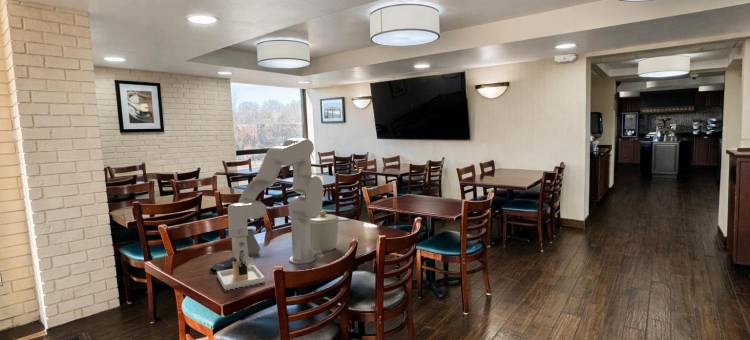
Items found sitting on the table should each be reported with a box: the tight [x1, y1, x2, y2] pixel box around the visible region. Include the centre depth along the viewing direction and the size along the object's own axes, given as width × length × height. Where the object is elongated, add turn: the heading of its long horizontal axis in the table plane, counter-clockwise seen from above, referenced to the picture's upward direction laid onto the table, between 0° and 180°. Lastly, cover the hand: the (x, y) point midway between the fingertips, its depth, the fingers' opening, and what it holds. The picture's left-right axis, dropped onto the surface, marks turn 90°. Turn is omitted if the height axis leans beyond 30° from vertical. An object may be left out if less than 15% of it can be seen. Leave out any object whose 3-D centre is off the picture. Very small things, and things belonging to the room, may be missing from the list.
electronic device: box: [209, 256, 234, 274], centre depth 189 cm, size 9×6×15 cm
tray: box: [216, 264, 266, 292], centre depth 173 cm, size 16×18×2 cm
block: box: [233, 261, 248, 281], centre depth 173 cm, size 5×5×7 cm
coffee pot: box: [246, 220, 274, 258], centre depth 212 cm, size 21×12×15 cm, turn 143°
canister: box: [310, 209, 341, 253], centre depth 215 cm, size 18×18×21 cm
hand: (240, 271), depth 173 cm, fingers open, 9 cm apart
